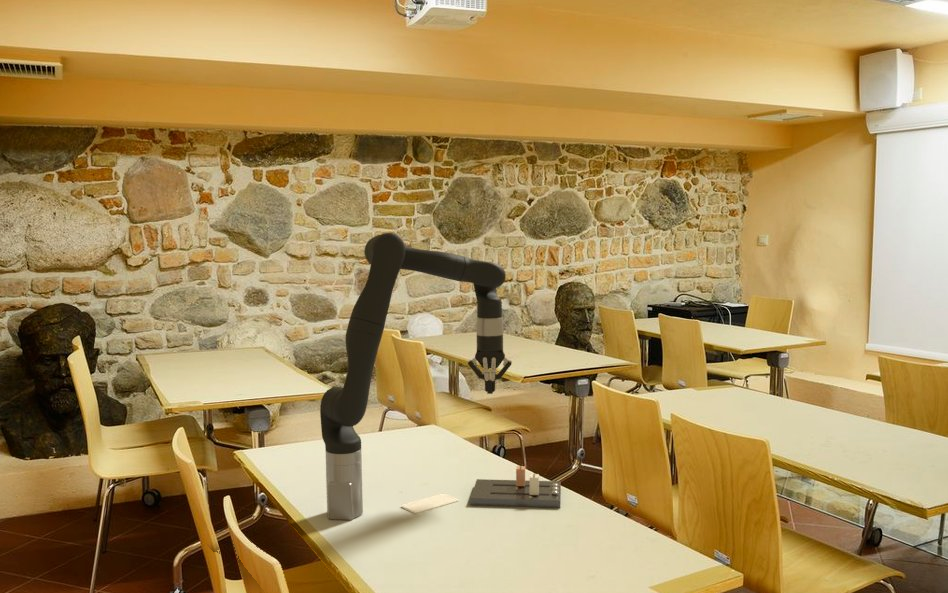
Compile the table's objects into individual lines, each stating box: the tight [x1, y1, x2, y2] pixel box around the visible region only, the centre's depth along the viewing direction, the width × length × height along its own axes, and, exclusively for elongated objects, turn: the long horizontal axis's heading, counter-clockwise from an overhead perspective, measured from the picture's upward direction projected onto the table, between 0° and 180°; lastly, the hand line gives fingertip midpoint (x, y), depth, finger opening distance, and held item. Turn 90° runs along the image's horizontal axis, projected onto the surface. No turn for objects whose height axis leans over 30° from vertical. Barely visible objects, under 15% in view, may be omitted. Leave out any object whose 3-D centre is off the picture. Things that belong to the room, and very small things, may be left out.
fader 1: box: [515, 465, 526, 486], centre depth 226 cm, size 3×2×5 cm
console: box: [469, 478, 562, 509], centre depth 223 cm, size 16×24×3 cm, turn 84°
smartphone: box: [401, 493, 460, 515], centre depth 218 cm, size 7×1×15 cm
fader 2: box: [529, 473, 540, 495], centre depth 218 cm, size 3×2×5 cm
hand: (490, 393), depth 230 cm, fingers closed
